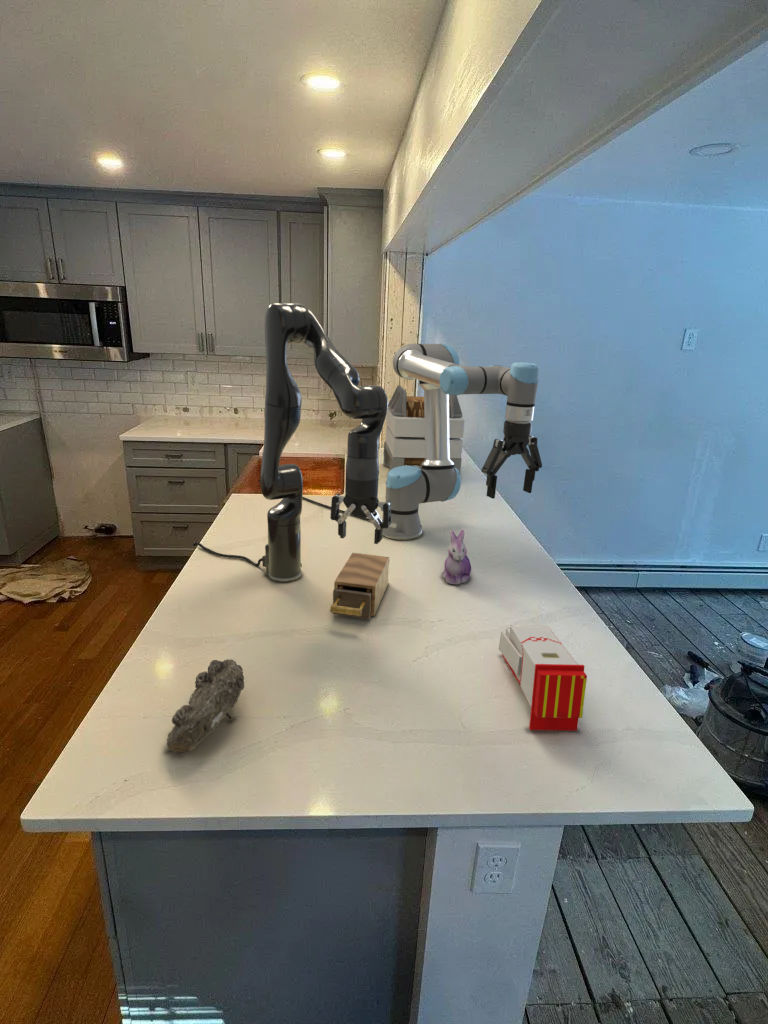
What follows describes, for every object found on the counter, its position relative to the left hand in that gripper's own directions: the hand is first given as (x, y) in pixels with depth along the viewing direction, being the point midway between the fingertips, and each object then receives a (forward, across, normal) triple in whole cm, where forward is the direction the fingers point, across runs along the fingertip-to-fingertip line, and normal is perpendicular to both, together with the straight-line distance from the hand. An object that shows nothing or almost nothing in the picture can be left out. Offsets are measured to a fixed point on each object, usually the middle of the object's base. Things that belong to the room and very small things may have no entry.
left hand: (359, 540), depth 135 cm
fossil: (+23, -15, -42) cm, 50 cm away
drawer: (+22, -3, +7) cm, 23 cm away
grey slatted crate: (+23, -17, +142) cm, 145 cm away
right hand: (-3, +31, +41) cm, 52 cm away
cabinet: (+23, -3, +14) cm, 27 cm away
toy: (+22, +44, -11) cm, 50 cm away
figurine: (+23, +19, +34) cm, 45 cm away
